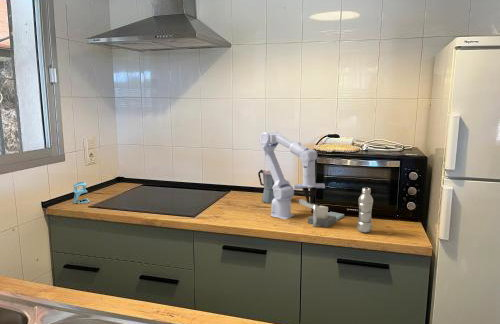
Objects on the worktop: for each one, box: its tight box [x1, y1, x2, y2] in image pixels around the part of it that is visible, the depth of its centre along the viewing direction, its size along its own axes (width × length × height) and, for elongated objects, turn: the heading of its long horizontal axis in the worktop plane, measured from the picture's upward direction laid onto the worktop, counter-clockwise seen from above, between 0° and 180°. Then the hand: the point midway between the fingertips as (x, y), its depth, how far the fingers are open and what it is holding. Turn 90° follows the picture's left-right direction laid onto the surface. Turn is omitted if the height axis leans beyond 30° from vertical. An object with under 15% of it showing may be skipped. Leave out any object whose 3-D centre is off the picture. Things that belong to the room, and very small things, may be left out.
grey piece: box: [298, 198, 319, 228], centre depth 180 cm, size 13×2×10 cm, turn 28°
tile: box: [328, 211, 345, 222], centre depth 190 cm, size 9×9×2 cm
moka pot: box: [257, 169, 275, 204], centre depth 219 cm, size 10×15×20 cm, turn 58°
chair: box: [72, 181, 91, 204], centre depth 218 cm, size 8×8×12 cm
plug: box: [318, 205, 329, 220], centre depth 181 cm, size 4×4×8 cm
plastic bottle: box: [356, 187, 374, 233], centre depth 169 cm, size 6×7×20 cm
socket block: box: [307, 214, 337, 228], centre depth 182 cm, size 10×10×3 cm
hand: (309, 203), depth 180 cm, fingers closed, pressing on grey piece
